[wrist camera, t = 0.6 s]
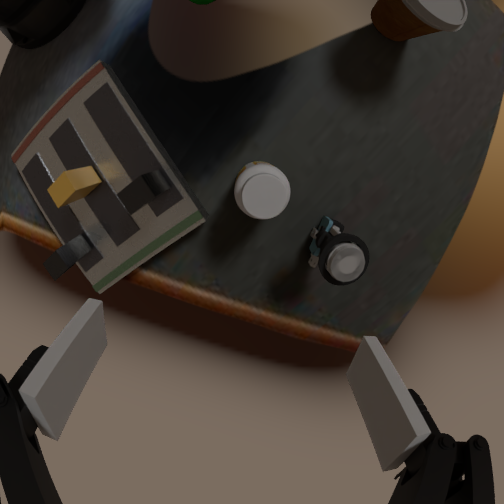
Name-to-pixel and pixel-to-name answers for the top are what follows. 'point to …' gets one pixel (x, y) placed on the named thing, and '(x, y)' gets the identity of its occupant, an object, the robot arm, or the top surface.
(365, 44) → the top surface
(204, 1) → the polyhedron
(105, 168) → the panel
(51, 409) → the robot arm
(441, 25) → the disposable coffee cup
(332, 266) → the push button
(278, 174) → the supplement bottle
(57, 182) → the block
